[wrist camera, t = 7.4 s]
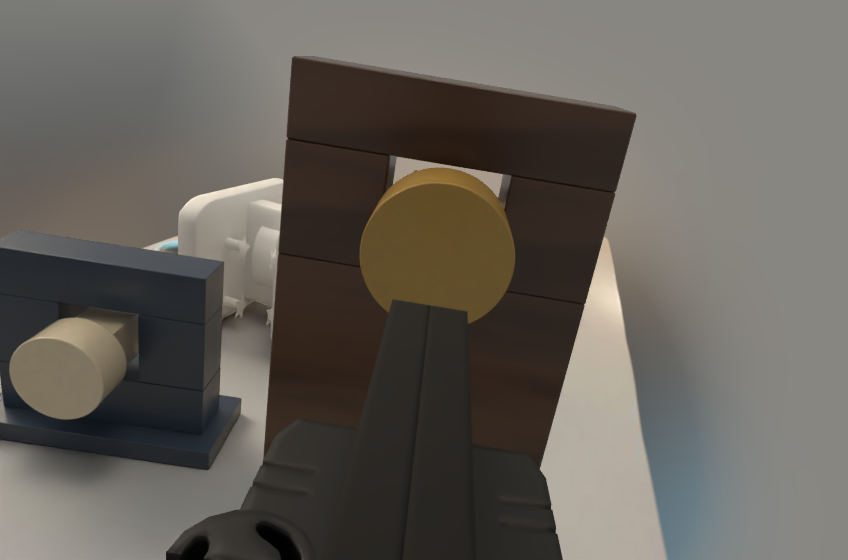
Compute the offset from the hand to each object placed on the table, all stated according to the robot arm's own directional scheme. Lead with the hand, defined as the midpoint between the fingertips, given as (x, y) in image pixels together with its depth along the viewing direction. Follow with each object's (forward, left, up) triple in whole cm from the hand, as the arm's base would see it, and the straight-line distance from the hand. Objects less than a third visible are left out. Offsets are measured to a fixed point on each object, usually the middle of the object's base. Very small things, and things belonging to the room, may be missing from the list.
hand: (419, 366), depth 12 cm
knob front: (+9, -3, -2) cm, 10 cm away
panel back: (+25, +11, -19) cm, 33 cm away
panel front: (+12, -4, -19) cm, 23 cm away
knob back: (+22, +12, -15) cm, 30 cm away
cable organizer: (+41, +1, -19) cm, 45 cm away
